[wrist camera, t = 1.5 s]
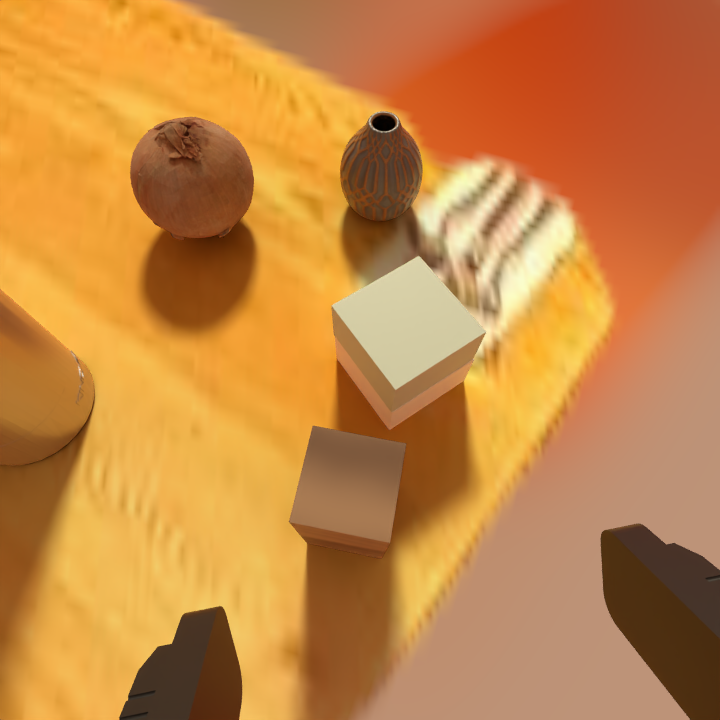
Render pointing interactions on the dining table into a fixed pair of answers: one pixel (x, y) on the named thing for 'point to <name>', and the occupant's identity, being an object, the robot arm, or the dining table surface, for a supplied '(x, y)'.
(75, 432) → the robot arm
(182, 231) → the onion
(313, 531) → the column
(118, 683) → the dining table surface
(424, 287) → the tower mid
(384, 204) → the vase
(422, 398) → the tower base
